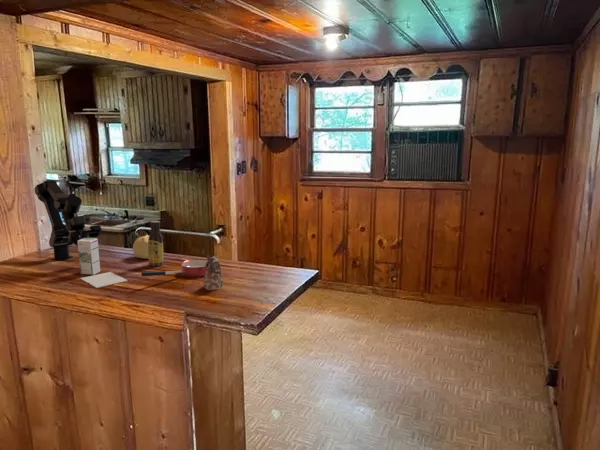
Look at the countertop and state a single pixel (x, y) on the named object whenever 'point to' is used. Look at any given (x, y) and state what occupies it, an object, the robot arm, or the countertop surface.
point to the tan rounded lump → (141, 247)
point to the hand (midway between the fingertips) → (84, 249)
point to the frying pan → (185, 269)
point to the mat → (103, 279)
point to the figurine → (213, 274)
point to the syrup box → (88, 256)
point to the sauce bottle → (155, 245)
